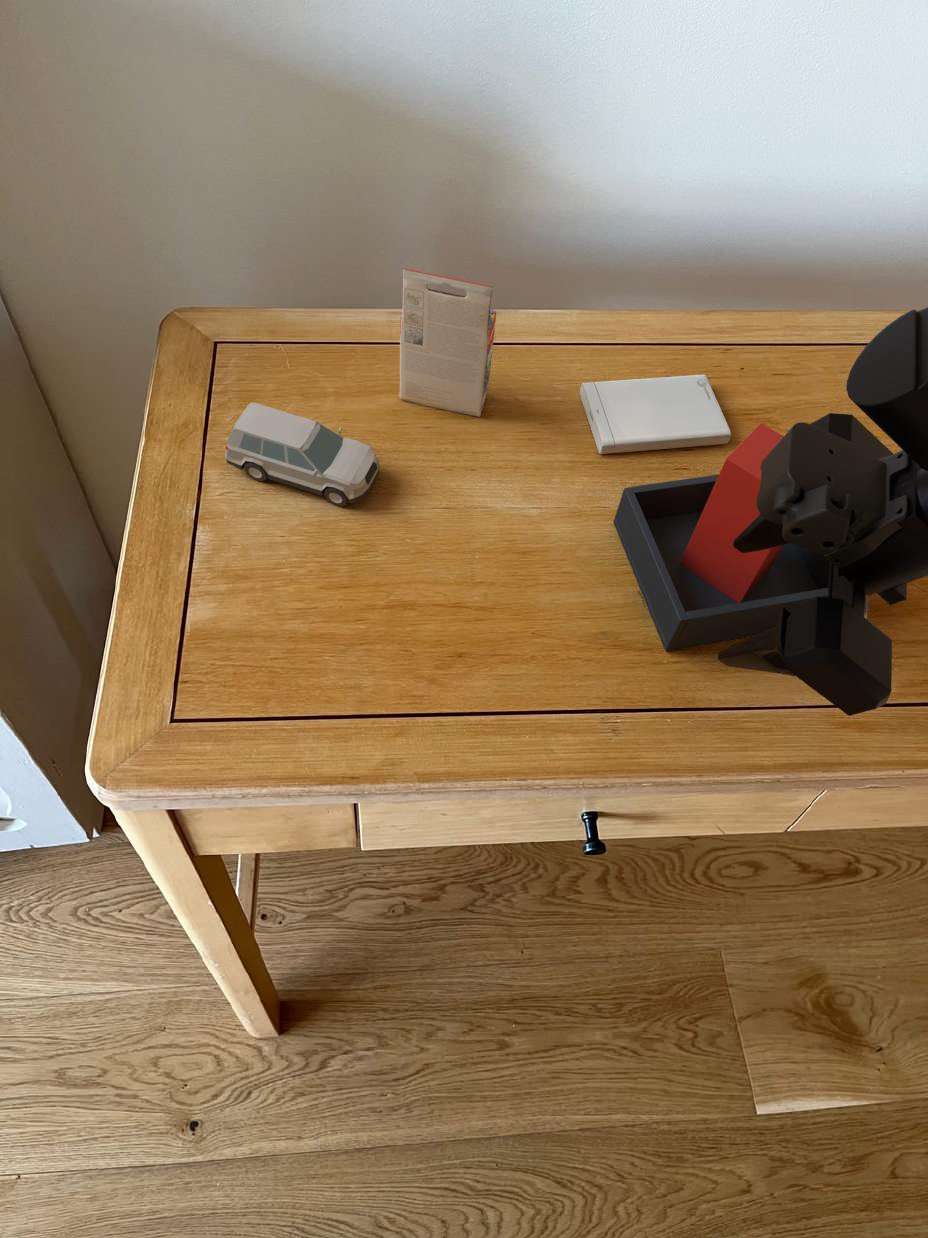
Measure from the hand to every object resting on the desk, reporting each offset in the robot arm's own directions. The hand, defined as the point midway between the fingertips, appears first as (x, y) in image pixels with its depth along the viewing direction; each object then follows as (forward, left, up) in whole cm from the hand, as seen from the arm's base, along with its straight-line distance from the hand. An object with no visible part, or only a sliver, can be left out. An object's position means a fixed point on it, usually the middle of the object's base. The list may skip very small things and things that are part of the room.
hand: (730, 601), depth 60 cm
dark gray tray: (-8, -11, -14) cm, 19 cm away
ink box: (+11, -35, -14) cm, 39 cm away
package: (-8, -11, -13) cm, 19 cm away
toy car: (+25, -28, -14) cm, 40 cm away
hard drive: (-8, -29, -14) cm, 33 cm away
